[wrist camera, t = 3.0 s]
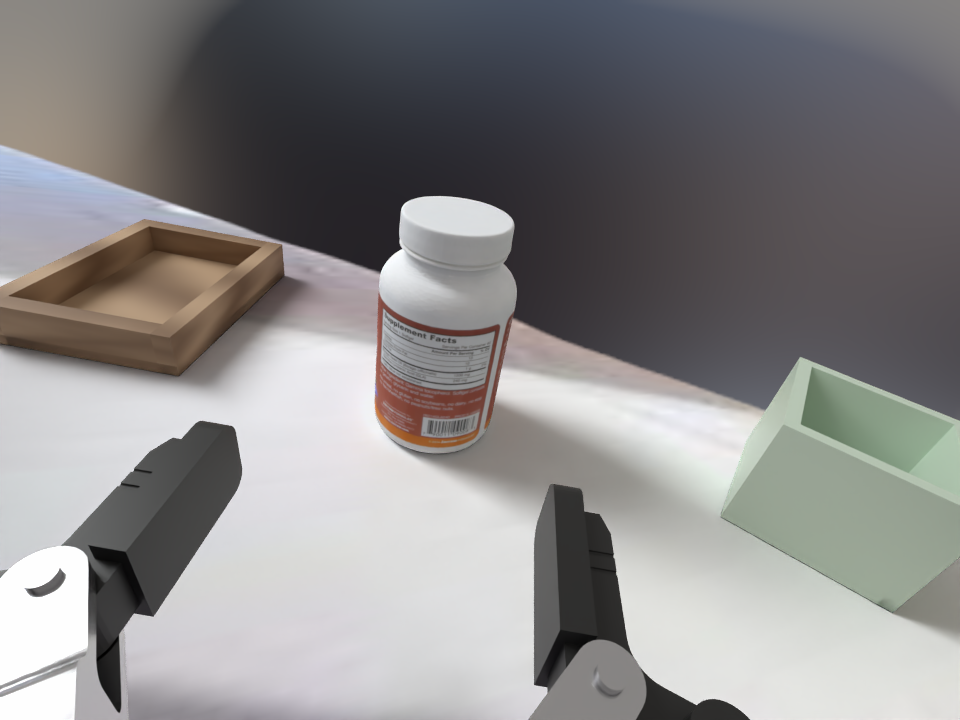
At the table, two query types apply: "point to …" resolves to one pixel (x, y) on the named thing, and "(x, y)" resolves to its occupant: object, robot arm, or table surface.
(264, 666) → the table surface
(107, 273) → the tray
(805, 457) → the pale green bin
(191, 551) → the robot arm
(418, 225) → the pill bottle
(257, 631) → the table surface
